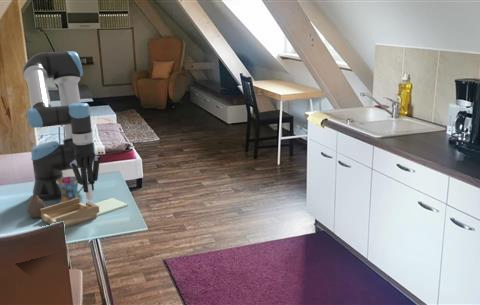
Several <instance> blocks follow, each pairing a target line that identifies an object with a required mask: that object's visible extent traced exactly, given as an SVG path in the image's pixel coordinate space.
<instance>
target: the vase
mask: <svg viewBox="0 0 480 305" xmlns="http://www.w3.org/2000/svg"><path fill="white" fill-rule="evenodd" d="M45 207H47V205H46V204H45V201H44V200H41V199H40V198H39V197H38V196H37V195H34V196H33V195H32V196H31V197H30V200H29V201H28V202H27V205H26V212H27V214H28V216H29V217H30V218H32V219H36V220H37V219H42V218H41V211H40V209H42V208H45Z"/></svg>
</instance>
